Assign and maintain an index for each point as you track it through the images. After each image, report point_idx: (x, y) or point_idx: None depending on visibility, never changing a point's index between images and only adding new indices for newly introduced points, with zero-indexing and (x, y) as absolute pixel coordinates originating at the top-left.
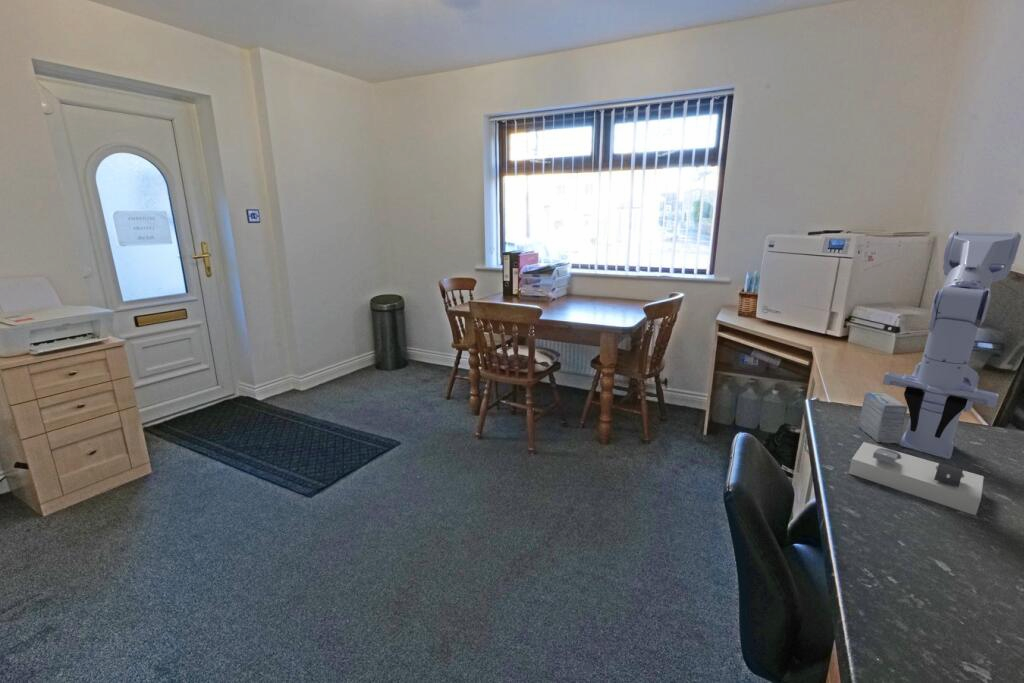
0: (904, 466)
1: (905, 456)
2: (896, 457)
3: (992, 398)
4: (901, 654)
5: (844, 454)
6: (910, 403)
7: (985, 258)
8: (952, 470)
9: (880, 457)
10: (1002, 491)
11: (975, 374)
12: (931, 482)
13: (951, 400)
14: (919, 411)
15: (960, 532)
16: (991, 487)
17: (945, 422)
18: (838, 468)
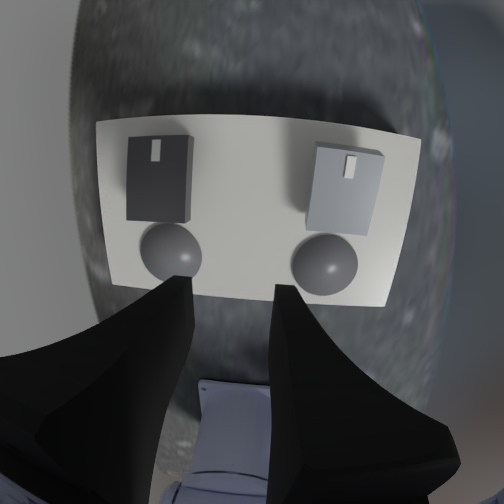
0: (279, 196)
1: (280, 281)
2: (310, 197)
3: None
4: None
5: (406, 260)
6: (372, 398)
7: None
8: (148, 198)
9: (359, 149)
10: (106, 296)
11: None
12: (201, 124)
13: (45, 467)
14: (274, 407)
15: (148, 9)
16: (121, 302)
17: (123, 319)
18: (421, 152)
